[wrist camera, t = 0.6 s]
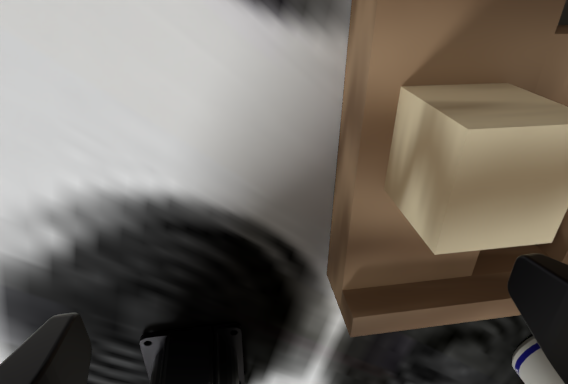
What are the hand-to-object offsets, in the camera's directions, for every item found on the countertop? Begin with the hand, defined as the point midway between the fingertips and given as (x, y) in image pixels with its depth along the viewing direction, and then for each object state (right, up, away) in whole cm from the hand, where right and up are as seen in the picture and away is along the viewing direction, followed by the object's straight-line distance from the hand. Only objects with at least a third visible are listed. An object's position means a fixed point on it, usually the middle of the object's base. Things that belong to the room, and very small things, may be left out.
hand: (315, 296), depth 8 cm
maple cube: (+7, +5, +10) cm, 13 cm away
